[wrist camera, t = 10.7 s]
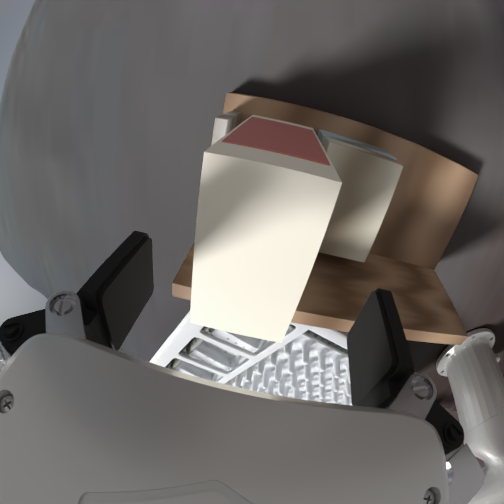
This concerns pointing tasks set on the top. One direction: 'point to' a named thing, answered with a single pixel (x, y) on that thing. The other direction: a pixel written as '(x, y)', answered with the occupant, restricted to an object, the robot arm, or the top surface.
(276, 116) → the shelf
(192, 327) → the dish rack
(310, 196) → the boxed book
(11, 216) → the top surface
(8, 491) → the robot arm
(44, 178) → the top surface
